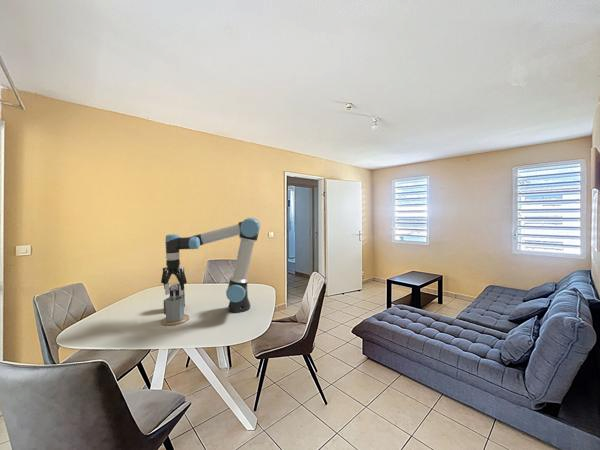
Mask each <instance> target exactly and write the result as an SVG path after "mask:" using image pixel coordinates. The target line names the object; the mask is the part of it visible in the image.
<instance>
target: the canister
mask: <svg viewBox="0 0 600 450" xmlns="http://www.w3.org/2000/svg"><path fill="white" fill-rule="evenodd" d="M176 284H177V285H178V290H176V291H175V296H179V285H180V283H176ZM185 295H186V294H185V289H184V290H183V295H181V296H183V298H184V308H185V306H186V299H185V298H186V297H185ZM172 296H173V291H171V288H170V286H169V297H172Z"/></svg>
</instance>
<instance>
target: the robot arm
mask: <svg viewBox="0 0 600 450" xmlns="http://www.w3.org/2000/svg"><path fill="white" fill-rule="evenodd" d="M260 229H261V224H260V221H259V220H258V219H256V218H253V217H247V218H245V219H244V220H243V221H240V222H238V223H237V224H234V225H230V226H225V227H222V228H218V229H214V230H210V231H206V232H204V233H200V234H199V233H198V234H195V235H192V236H187V237H185V236H184V237H180V235H179V234H178V233H177V234H174V233H173V234H172V233H171V234H167V235H165V242H164V243H165V259H166V261H165V262H166V267H163V268H162V274H161V275H162V276H161V280H160V283H161V284H163V289H164V291H165V292H164V295H165V296H167V295H170V291H169V287H170V283H169V281H170V279H171V277H172V275H174V276H175V277H176V280H177V281H178V284H180V285H179V296H181V295H183V290H184V291H185V285H186V284H187V283H188V281H187V277H186V274H185V268H184V267H180V264H181V260H180V250H198V249H199V248H200V247H201V246H204V245H207V244H211V243H216V242H218V241H222V240H227V239H230V238H234V237H236V236H238V238H239V239H240V242H239V245H238V251H237V257H236V261H235V265H234V270H233V273H232V275H231V276H230V277H229V282H228V287H227V289H226V291H225V295H226V298H227V299H228V300H229V303H228V308H227V309H228V311H229V312H230V313H231V312H232V313H243V312H247V311H249V310H250V309H251V302H250V299H249V297H248V295H249V294H248V284H249V283H248V282H249V280H248V272H249V267H250V264H251V259H252V258H251V257H252V253H253V249H254V244H255V242H257V241H258V237H259V232H260Z"/></svg>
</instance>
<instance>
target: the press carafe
mask: <svg viewBox="0 0 600 450" xmlns="http://www.w3.org/2000/svg"><path fill="white" fill-rule="evenodd" d="M175 297H176V300H174V301H173V296H172V297H170V296H169V297H167V298H165V299H163V314H164V315H165V317H164V318H162V319H161V320H160V325H161V326H165V327H171V326H173V327H174V326H178V325H181V324H184V323H186V322H187V321H189V319H190V316H189V315H188V314H186V313H185V307H184V298H183V296H175Z"/></svg>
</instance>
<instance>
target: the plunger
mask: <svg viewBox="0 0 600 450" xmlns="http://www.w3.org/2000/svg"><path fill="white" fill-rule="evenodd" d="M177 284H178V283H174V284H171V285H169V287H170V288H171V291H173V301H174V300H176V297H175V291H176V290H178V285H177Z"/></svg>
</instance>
